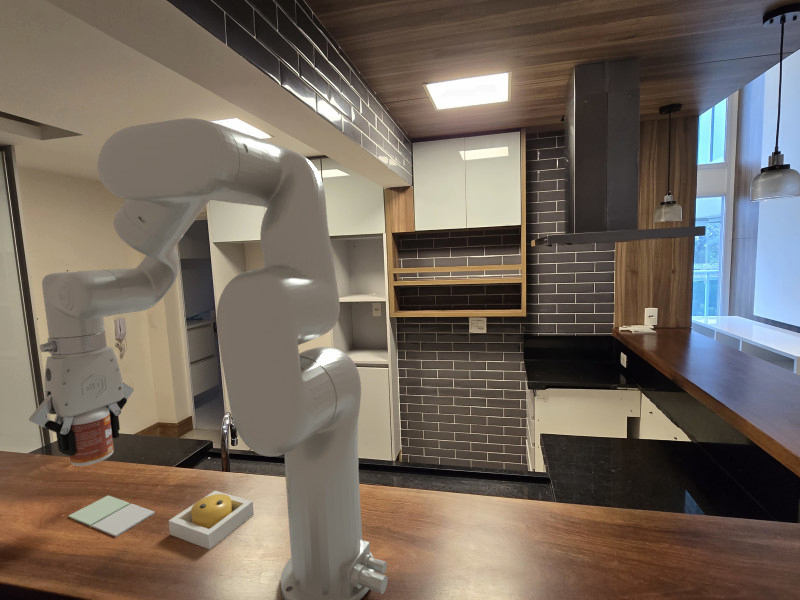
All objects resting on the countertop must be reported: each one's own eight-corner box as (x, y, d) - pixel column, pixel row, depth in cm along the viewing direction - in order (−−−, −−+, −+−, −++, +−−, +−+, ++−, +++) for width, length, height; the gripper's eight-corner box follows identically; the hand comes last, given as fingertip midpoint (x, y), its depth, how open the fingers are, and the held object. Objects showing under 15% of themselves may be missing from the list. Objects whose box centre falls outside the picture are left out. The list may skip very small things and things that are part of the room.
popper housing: (253, 514, 70) (252, 501, 69) (209, 549, 62) (208, 534, 61) (216, 502, 74) (215, 490, 73) (170, 534, 65) (168, 520, 65)
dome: (240, 515, 69) (238, 497, 69) (210, 537, 64) (208, 518, 63) (215, 507, 71) (213, 490, 71) (184, 528, 66) (182, 510, 66)
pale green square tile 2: (129, 504, 74) (129, 502, 74) (90, 526, 68) (90, 524, 68) (108, 496, 77) (108, 495, 77) (68, 517, 71) (68, 515, 71)
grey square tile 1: (155, 513, 71) (154, 511, 71) (116, 537, 65) (115, 535, 65) (131, 505, 74) (131, 503, 74) (92, 527, 68) (92, 525, 68)
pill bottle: (117, 457, 71) (110, 397, 70) (72, 471, 67) (64, 407, 66) (110, 446, 76) (104, 389, 75) (68, 458, 72) (60, 397, 70)
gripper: (27, 358, 60) (43, 473, 62) (143, 335, 75) (153, 428, 77) (2, 354, 63) (18, 464, 65) (118, 333, 79) (128, 422, 81)
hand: (91, 444), depth 71 cm, fingers closed on pill bottle, 6 cm apart
